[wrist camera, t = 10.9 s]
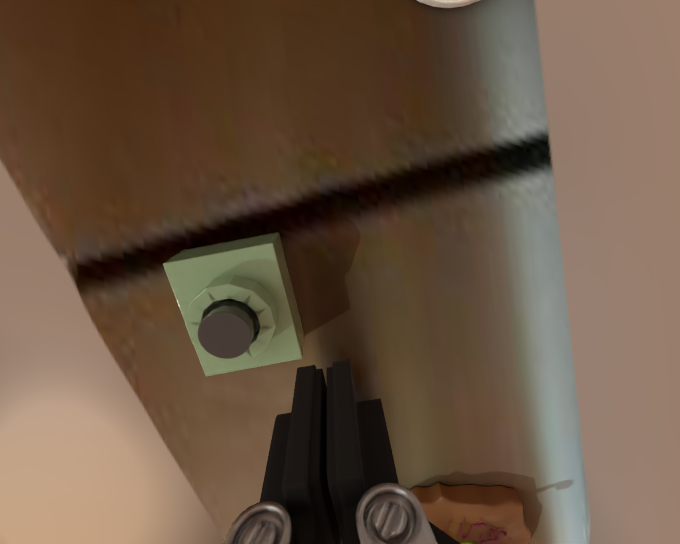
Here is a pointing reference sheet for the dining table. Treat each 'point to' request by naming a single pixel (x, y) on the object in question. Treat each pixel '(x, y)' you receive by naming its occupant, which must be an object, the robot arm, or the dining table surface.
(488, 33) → the dining table surface
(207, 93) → the dining table surface
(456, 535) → the plant
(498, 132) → the dining table surface
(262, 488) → the robot arm
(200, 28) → the dining table surface
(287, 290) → the button base
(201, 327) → the dark round button cap
